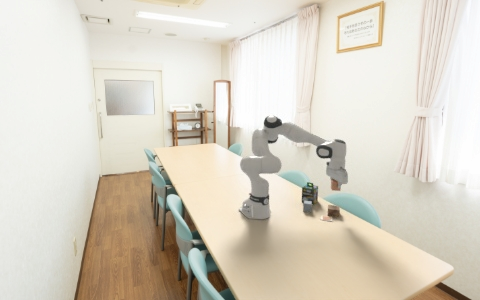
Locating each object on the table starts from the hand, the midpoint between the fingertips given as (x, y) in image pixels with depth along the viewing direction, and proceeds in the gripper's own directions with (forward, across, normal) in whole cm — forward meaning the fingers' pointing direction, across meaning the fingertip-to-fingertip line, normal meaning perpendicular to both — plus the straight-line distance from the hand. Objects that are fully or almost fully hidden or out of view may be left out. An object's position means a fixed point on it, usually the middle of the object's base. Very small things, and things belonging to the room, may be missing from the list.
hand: (335, 186), depth 169 cm
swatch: (+19, -5, +7) cm, 21 cm away
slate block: (+20, +8, +14) cm, 26 cm away
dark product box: (+20, +23, +6) cm, 31 cm away
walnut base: (+20, 0, 0) cm, 20 cm away
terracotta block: (+2, 0, 0) cm, 2 cm away
